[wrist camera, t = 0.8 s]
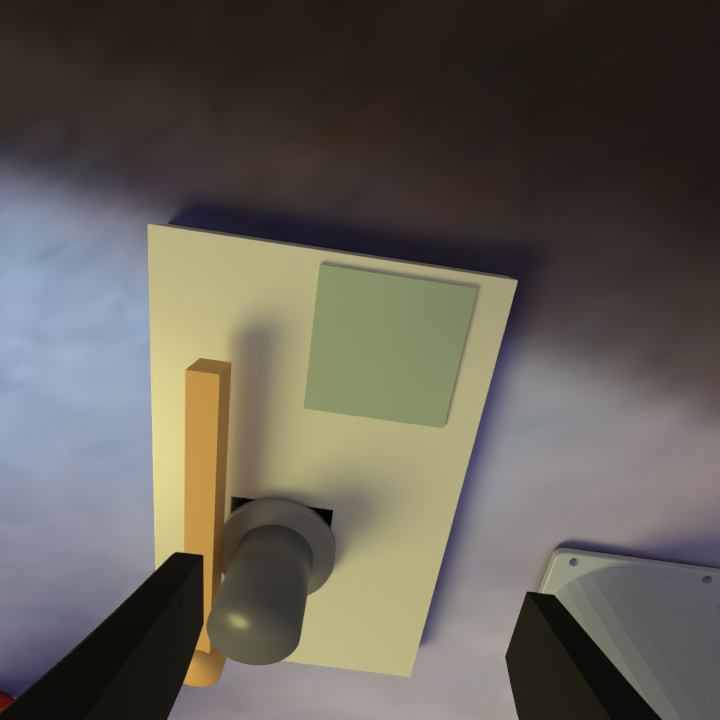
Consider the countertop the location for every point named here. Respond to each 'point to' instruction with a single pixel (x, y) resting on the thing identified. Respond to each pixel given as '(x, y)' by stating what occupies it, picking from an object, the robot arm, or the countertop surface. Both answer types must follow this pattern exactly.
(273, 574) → the plug
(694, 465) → the countertop surface
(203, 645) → the tan wooden rod
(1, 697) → the coffee cup
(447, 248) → the countertop surface
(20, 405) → the countertop surface
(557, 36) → the countertop surface
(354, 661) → the board
